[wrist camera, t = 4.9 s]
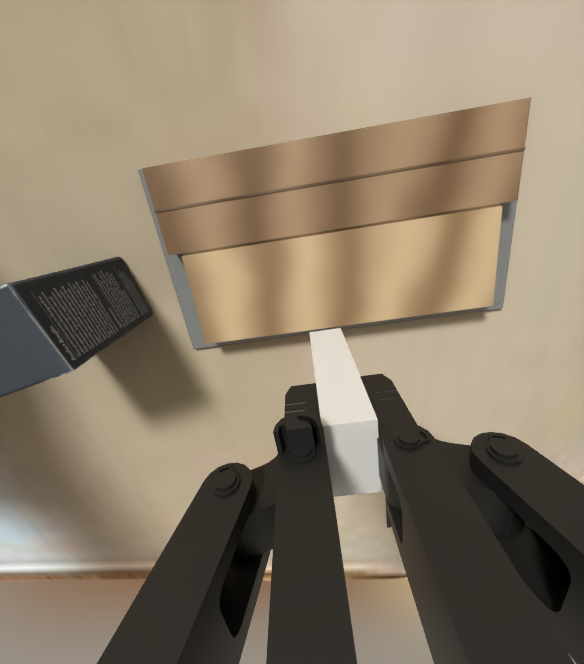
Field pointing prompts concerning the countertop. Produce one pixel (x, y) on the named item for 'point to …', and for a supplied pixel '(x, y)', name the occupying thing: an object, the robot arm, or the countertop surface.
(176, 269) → the underlay
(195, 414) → the countertop surface
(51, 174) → the countertop surface
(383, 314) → the plank
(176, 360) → the countertop surface
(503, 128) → the floor strip
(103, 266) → the box
